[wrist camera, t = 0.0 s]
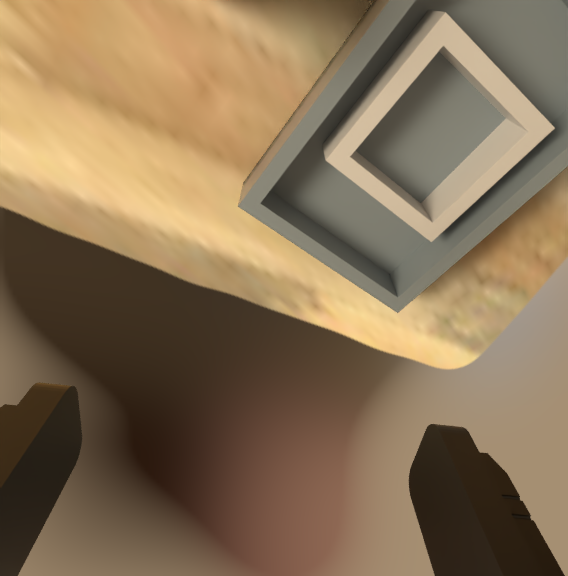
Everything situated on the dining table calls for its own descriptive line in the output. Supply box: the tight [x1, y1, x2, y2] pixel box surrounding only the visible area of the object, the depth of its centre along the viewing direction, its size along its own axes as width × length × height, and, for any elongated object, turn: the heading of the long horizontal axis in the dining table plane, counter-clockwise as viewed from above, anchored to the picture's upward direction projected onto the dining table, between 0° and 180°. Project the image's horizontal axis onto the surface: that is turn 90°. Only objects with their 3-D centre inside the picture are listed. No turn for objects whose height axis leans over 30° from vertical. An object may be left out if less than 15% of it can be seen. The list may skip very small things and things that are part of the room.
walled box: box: [238, 0, 568, 313], centre depth 26 cm, size 20×14×4 cm
